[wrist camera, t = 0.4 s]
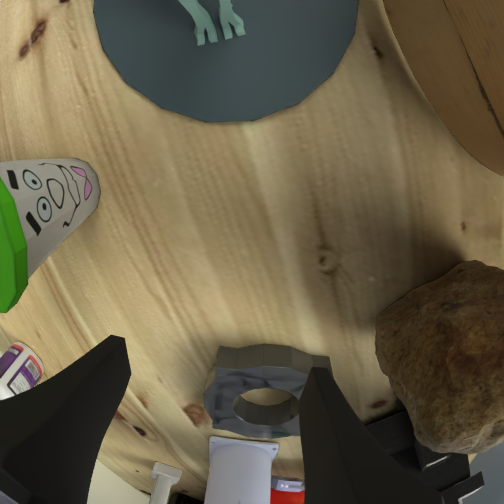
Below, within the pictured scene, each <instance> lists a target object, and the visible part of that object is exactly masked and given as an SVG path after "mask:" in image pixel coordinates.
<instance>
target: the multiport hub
mask: <svg viewBox="0 0 504 504" xmlns="http://www.w3.org/2000/svg"><path fill="white" fill-rule="evenodd" d="M168 504H204V503H201V502H198V501H196V500H193V499H191V498H188V497H186V496H183V495H181V494H175V493H172V494H171V495H170V498H169V501H168Z"/></svg>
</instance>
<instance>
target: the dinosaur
mask: <svg viewBox="0 0 504 504" xmlns="http://www.w3.org/2000/svg"><path fill="white" fill-rule="evenodd" d="M358 1H359V0H94V11H93V13H94V17H95V21H96V25H97V29H98V32H99V36H100V40H101V44H102V47H103V49H104V51H105V52H106V54H107V55H108V57H109V58H110V60H111V61H112V63H113V64H114V66H115V67H116V69H117V70H118V72H119V73H120V74H121V76H122V77H123V79H124V80H125V82H126V83H128V84H129V85H130V86H132V87H133V88H135V89H136V90H137V91H139V92H140V93H141V94H143V95H144V96H145V97H147V98H148V99H149V100H151V101H152V102H153V103H155V104H156V105H157V106H159V107H160V108H162V109H165V110H169V111H172V112H175V113H178V114H182V115H185V116H188V117H191V118H194V119H197V120H200V121H203V122H226V121H255V120H257V119H260V118H262V117H265V116H267V115H270V114H272V113H275V112H277V111H280V110H283V109H285V108H288V107H291V106H293V105H296V104H298V103H300V102H301V101H302V100H303V99H304V98H305V97H306V96H307V95H309V94H310V93H311V92H312V91H313V90H314V89H315V88H317V87H318V86H319V85H320V84H321V83H322V82H323V81H325V80H326V79H327V78H328V77H329V76H331V75H332V74H333V73H334V71H335V69H336V67H337V65H338V64H339V62H340V60H341V58H342V56H343V54H344V52H345V50H346V49H347V47H348V45H349V43H350V41H351V39H352V38H353V36H354V34H355V26H356V18H357V10H358Z"/></svg>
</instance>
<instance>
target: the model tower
mask: <svg viewBox="0 0 504 504" xmlns="http://www.w3.org/2000/svg"><path fill="white" fill-rule="evenodd" d="M181 474H182V470H181V469H177V468H174V467H171V466H168V465H165V464H162V463H159V462H157V461H156V462H155V464H154V466H153V467H152V470H151V473H150V477H152V478H155V483H154V486H153V490H152V494H151V497H150V501H149V504H167V501H168V496H169V492H170V488H171V484H173V485H175V484H176V483H177V482H178V481H179V480H180V478H181Z"/></svg>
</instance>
